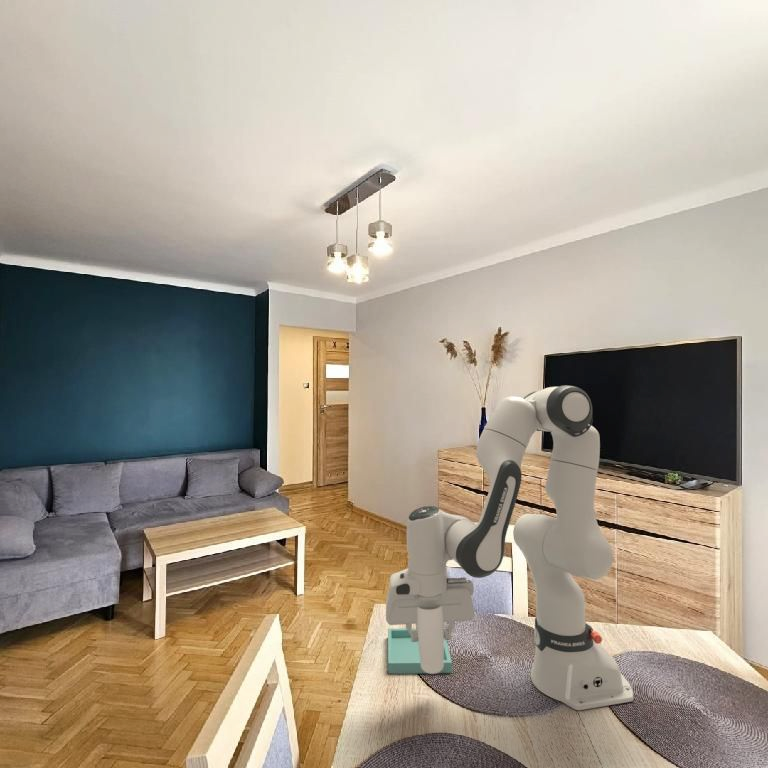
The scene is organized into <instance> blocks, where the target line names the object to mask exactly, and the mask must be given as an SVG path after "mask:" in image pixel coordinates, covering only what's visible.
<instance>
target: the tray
mask: <svg viewBox="0 0 768 768" xmlns="http://www.w3.org/2000/svg"><path fill="white" fill-rule="evenodd" d="M412 629H413V631H416V627H415V628H413V627H412ZM443 660H444V667H443V669H442V670H441V671H440V672H439V673H438V674H453V666H452V665H453V663H452V657H451V654H450V650H449V646H448V640H445V639H444V653H443ZM387 665H388V666H387V667H388V671H387V672H388V675H389V674H390V675H391V674H393V675H394V674H395V675H396V674H400V675H401V674H403V675H405V674H427V673H426V672H424V671H423V670H422V668H421V665H420V654H419V647H418V642H411V635H410V634H409V632H408V631H407V629H406V627H405V628H403V627H402V628H387Z"/></svg>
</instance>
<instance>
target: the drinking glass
mask: <svg viewBox="0 0 768 768" xmlns="http://www.w3.org/2000/svg"><path fill="white" fill-rule="evenodd" d="M417 620H418V622H417V624H415V628H416V632H417V636H418V647H419V654H420V665H421V668H422V670H423V671H424V672H426V673H425V674H430V675H434V674H440V673H439V672H440V671H441V670H442V669H443V667H444V660H443V653H444V629H445V622H443V612H442V606H440V607H438V608H435V609H422V608H419V607H417Z"/></svg>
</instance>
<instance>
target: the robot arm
mask: <svg viewBox="0 0 768 768" xmlns="http://www.w3.org/2000/svg"><path fill="white" fill-rule="evenodd" d="M593 422H594V419H593V404H592V401H591V398H590V397H589V395H588V393H587V392H586V391H585V390H583V388H580V387H578V386H574V385H565V384H564V385H560V386H549V387H546V388H543V389H540V390H537V391H533V392H530V393H528V394H526V396H524V397H520V396H515V395H513V396H512V395H511V396H507V397H504V398H502V400H500V401H499V403H498V404H497V405H496V407H495V409H494V410H493V411H492V413H491V415H490V417H489V418H488V419H487V421H486V423H485V426H484V428H483V430H482V432H481V434H480V437H478V438H479V439H478V441H477V445H476V449H475V450H476V451H475V454H476V459H477V461H478V463H479V465H480V466H481V468H482V469H483V471H484V472H485V474H486V477H487V478H488V483H489V484H488V485H489V489H488V494H487V495H486V496H487V497H486V499H485V502H484V506H483V508H482V511H481V514H480V517H479V520H478V522H476V523H475V522H474V521H473V520H470V519H469V518H467V517H465V516H463V515H460V514H451V513H448V512H446V511H444V510H442V509H440V508H439V507H437V506H433V505H430V506H428V505H427V506H420V507H418V508H416V509H414V510H413V511H411V512H410V514H409V516H408V518H407V521H406V550H407V553H408V562H407V563H408V564H407V568H405V569H402V570H400V571H397V572H395V573H392V574H391V575H390V578H389V588H388V590H387V592H386V601H385V621H386V623H387V624H388V625H389V626H398V625H405V628H406V629H407V631H408V632H409V634H410V635H411V642H418V636H417V632H416V631H413V629H412V628H413V625H414V624H417V622H418V620H417V607H419V608H422V609H435V608H438V607H440V606H442V612H443V622H444V623H448V626H447V627H446V628H444V639H445V640H446V641H451V640H452V633H453V631H454V629H455V627H456V622H469V621H472V620H473V619H474V618H475V609H474V608H475V607H474V603H473V598H472V596H473V594H474V583H473V581H471V579H469V578H467V577H465V576H461V577H449V578H448V572H447V563H448V561H452V560H453V561H454V562H456V563H457V564H458V565H459V566H460V567H461V569H463V571H465V573H466V574H467V575H468V576H470V577H472V578H475V579H477V578H478V579H483V578H486V577H490V575H491V576H492V574H494V573H495V572H496V571H498V569H499V568H500V566H501V564H502V562H503V560H504V559H503V558H504V553H505V546H506V545H505V544H506V537H507V532H508V528H509V526H510V522H511V519H512V516H513V512H514V509H515V505H516V502H517V499H518V495H519V492H520V490H521V489H520V487H521V484H522V478H523V476H522V475H523V474H522V470H521V469H522V463H523V460H524V459H523V458H524V456H525V453H526V451H527V449H528V447H529V443H530V441H531V438H532V436H534V434H535V432H536V431H537V432H543V431H544V432H550V434H551V436H552V441H553V445H552V452H551V455H550V461H549V466H548V471H547V477H546V481H545V486H544V487H545V488H544V489H545V492H546V495H547V496H548V498H549V499H550V500H551V501H552V502H553V504H554V507H555V510H556V511H555V512H556V518H555V517H551V516H549V515H547V514H543V513H542V514H540V513H524V514H522V515H521V516H519V517H518V519H517V520H516V522H515V524H514V527H513V532H512V535H513V540H514V543H515V545H516V546H517V547H518V548H519V550H520V551H521V553H522V554H523V557H524V558H525V560H526V562H527V565H528V569H529V571H530V573H531V577H532V581H533V585H534V590H535V591H534V592H535V604H536V605H535V607H536V609H535V611H536V612H535V613H536V617H534V629H533V630H534V631H533V633H534V636H533V637H534V642H535V652H534V653H535V654H534V659H533V663H532V668H531V671H530V680H531V682H532V684H533V686H534V687H536V689H538V691H540V692H541V693H543V694H544V695H546V696H548V697H549V698H552V699H554V700H556V701H559V702H561V703H564V704H565V705H567V706H568V707H570V708H571V709H573V710H576V711H583V710H584V711H585V710H589V709H595V708H601V707H605V706H606V707H607V706H611V705H618V704H624V703H630V702H633V701H634V698H635V697H634V696H635V695H634V690H633V688H632V686H631V684H630V683H629V681H628V680H627V679H626V677H625V676H624V675H623V674H622V673H621V670H620V667H619V665H618V663H617V661H616V660H615V658H614V656H612V654H611V653H610V652H609V651H608V650H607V649H606V648H605V647H603V646H602V645H601V643H602V642H603V637H602V636H601V634H599V632H598V631H595V630H594V629H593V628H592V626H591V625H590V624H588V623H587V622H586V598H585V594H584V592H583V590H582V588H581V587H580V585H579V584H578V583H577V581H576V580H575V579H574V576H575V577H580V578H583V579H589V580H594V581H596V580H597V581H598V580H600V579H603V578H604V577H605V576H606V575H607V574H608V573H609V572H610V571H611V569H612V565H613V563H614V553H613V549H612V546H611V544H610V542H609V540H608V539H607V538H606V537H605V535H604V534H603V532H602V530H601V529H600V526H599V524H598V520H597V516H596V514H595V513H596V511H595V500H594V499H595V491H596V484H597V483H596V482H597V477H598V470H599V465H600V453H601V452H600V451H601V449H600V448H601V442H600V441H601V440H600V433H599V431H598V430H597V429H596V428H595V427H594V426H593Z"/></svg>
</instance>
